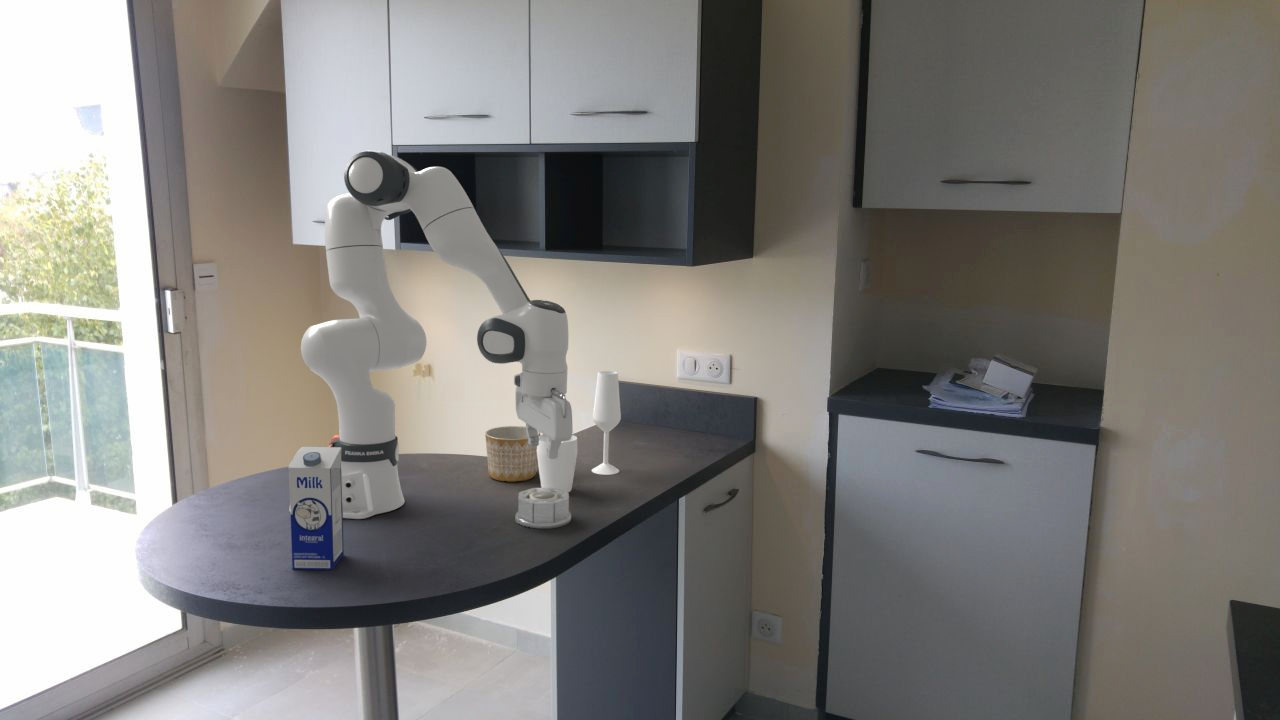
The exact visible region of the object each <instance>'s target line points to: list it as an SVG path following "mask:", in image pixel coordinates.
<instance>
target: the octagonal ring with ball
mask: <svg viewBox="0 0 1280 720" xmlns="http://www.w3.org/2000/svg"><path fill="white" fill-rule="evenodd" d="M538 491H549V492H554V493H556V494H557V499H556V500H553V501H535V500H531V499H530V494H531V493H534V492H538ZM569 493H570V492H566V491H563V490H560V489H556V488H541V487H532V488H529V489H528V488H527V489H526V490H522V491H519V492H518V501H517V502H518V506H517V508H518V510H517V511H516V512H515V518H514V519H515V523H516V524H518V523H519V524H520V526H521V525H522V527H524V526H526V527H525V528H528V527H530V528H529V529H534V528H535V529H536V530H549V529H550V530H551V529H557V528H562V527H564V526H566V525H568V524H570V523H571V522H572V513H571V511H570V494H569ZM519 524H518V525H519ZM535 529H534V530H535Z"/></svg>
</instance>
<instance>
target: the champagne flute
mask: <svg viewBox="0 0 1280 720" xmlns="http://www.w3.org/2000/svg"><path fill="white" fill-rule="evenodd" d="M619 385H620V384H619V372H618V371H615V370H599V371H598V372H597V377H596V385H595V393H594V394H595V395H594V401H593V402H594V403H593V411H592V412H593V413H592V420H593V422H594V424H595V426H597V427H598V428H599V429H600V430H601V431H602V432H603V453H602V454H603V456H602V457H603V460H602V463H600V464H599V465H597V466H595V467H593V468H592V469H591V472H592V473H593V474H597V475H601V476H603V475H605V476H607V475H615V474H618V473H619V472H620V470H619V469H618V468H616V466H614V465H612V464H611V463H609V441H610V439H609V438H610V432H611V431H612V430H614V428H615V427H617V426H618V424H619V423H620V422H621V419H622V413H621V400H620V386H619Z"/></svg>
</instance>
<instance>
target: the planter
mask: <svg viewBox="0 0 1280 720" xmlns="http://www.w3.org/2000/svg"><path fill="white" fill-rule="evenodd" d="M484 434H485V444H486V445H485V446H486V457H487V467H488V468H487V470H488V475H489V476H490V477H491V479H494V480H495V481H499V482H504V481H507V483H514V482H515V483H516V481H517V482H518V481H519V482H525V481H528V480H530V479H533V478H534V477H535V476H536V474H537V470H538V469H537V468H538V458H537V446H534V447H532V446H530V445H529V444H528V434H527V430H526V426H521V425H520V426H519V425H505V426H504V425H503V426H497V427H492V428H490V429H488V430H486V431H485V432H484ZM537 435H538V436H540V435H541V432H539V431H538V430H537Z"/></svg>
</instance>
